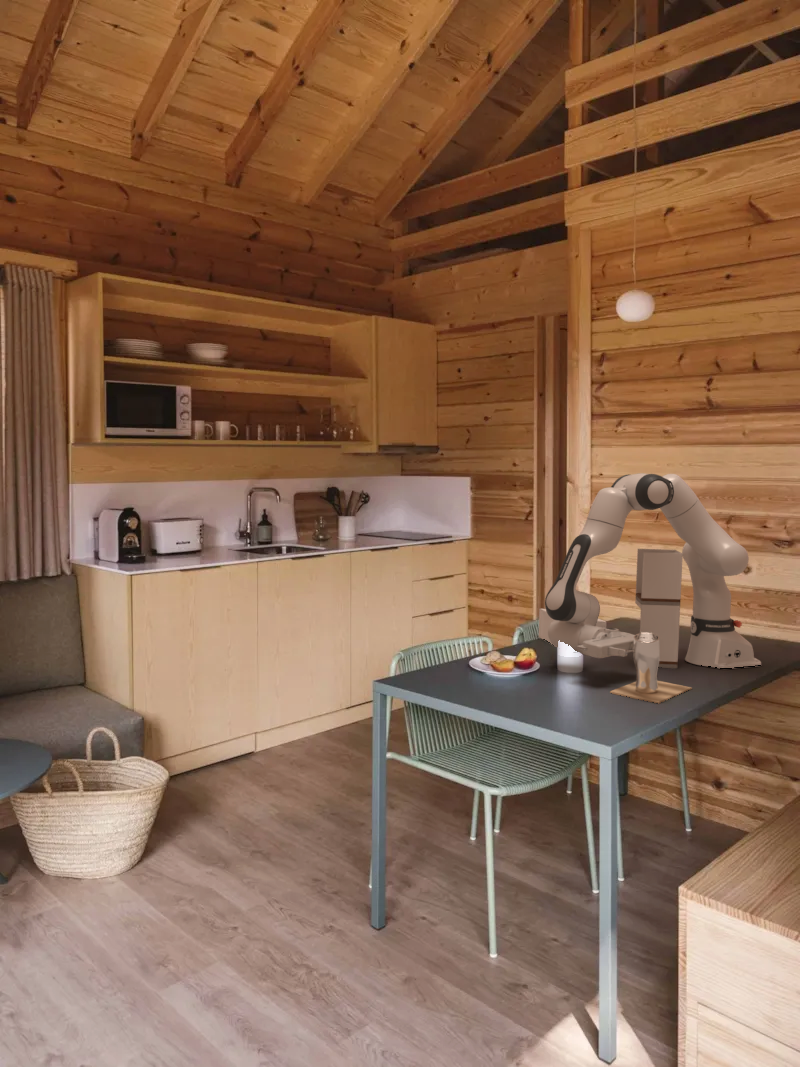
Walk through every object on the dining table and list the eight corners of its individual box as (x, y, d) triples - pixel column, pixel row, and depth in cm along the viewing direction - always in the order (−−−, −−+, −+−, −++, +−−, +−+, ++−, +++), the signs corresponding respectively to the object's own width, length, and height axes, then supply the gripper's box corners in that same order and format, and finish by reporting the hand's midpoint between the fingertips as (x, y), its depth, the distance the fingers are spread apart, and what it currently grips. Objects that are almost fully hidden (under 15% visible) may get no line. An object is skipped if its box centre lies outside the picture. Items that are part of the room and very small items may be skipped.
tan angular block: (552, 634, 310) (553, 606, 309) (619, 650, 287) (620, 619, 286) (524, 639, 301) (525, 610, 300) (590, 656, 278) (592, 624, 277)
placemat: (644, 679, 249) (644, 678, 249) (691, 689, 240) (691, 687, 240) (609, 693, 235) (610, 691, 235) (658, 703, 225) (658, 702, 225)
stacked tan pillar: (670, 660, 274) (675, 549, 271) (677, 668, 263) (682, 553, 260) (633, 658, 275) (637, 548, 272) (638, 666, 265) (643, 552, 261)
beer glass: (662, 684, 237) (663, 634, 233) (656, 696, 231) (656, 644, 227) (637, 680, 241) (637, 630, 236) (630, 691, 235) (629, 640, 231)
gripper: (573, 635, 244) (613, 644, 234) (618, 627, 257) (658, 635, 247) (572, 657, 245) (612, 667, 234) (617, 648, 258) (657, 657, 247)
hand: (636, 651), depth 241 cm, fingers open, 8 cm apart
